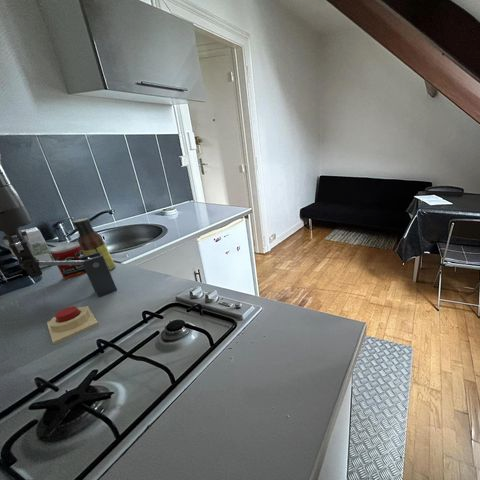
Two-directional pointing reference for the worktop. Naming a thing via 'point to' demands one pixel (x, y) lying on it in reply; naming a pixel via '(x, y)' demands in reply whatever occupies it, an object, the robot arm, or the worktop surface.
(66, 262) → the lever
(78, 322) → the button box
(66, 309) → the button
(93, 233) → the sauce bottle
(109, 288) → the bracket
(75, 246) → the canned food
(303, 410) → the worktop surface
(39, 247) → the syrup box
